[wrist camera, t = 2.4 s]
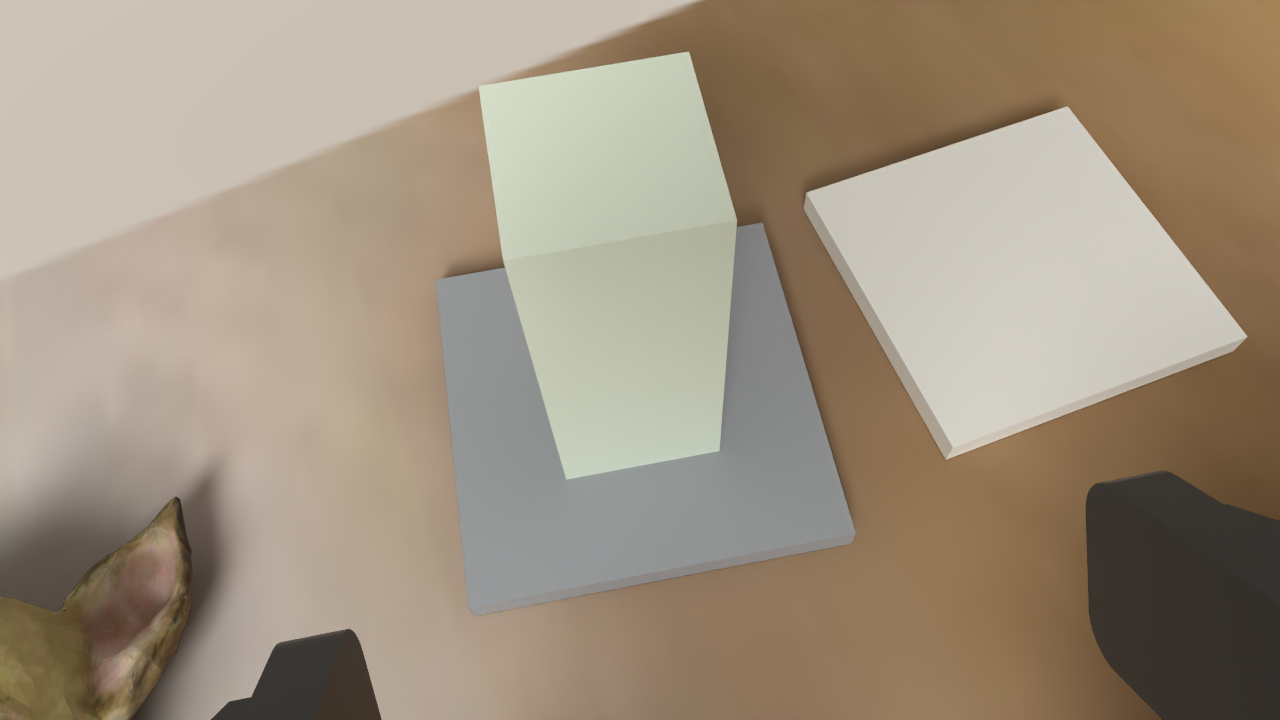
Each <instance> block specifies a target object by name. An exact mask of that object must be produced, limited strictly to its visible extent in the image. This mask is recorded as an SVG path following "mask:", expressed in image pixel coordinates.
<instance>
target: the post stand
mask: <svg viewBox="0 0 1280 720" xmlns="http://www.w3.org/2000/svg"><path fill="white" fill-rule="evenodd" d="M436 289H437V299H438V309H439V319H440V329H441V339H442V349H443V359H444V369H445V379H446V389H447V399H448V409H449V419H450V429H451V439H452V449H453V459H454V469H455V479H456V489H457V499H458V509H459V519H460V529H461V539H462V549H463V559H464V569H465V579H466V589H467V599H468V608H469V609H470V611H471V612H472V613H473V615H474V616H478V615H483V614H489V613H494V612H499V611H504V610H509V609H514V608H520V607H525V606H530V605H535V604H540V603H546V602H551V601H556V600H561V599H566V598H572V597H577V596H582V595H587V594H592V593H598V592H603V591H608V590H613V589H618V588H624V587H629V586H634V585H639V584H644V583H649V582H655V581H660V580H665V579H670V578H675V577H681V576H686V575H691V574H696V573H701V572H707V571H712V570H717V569H722V568H727V567H733V566H738V565H743V564H748V563H753V562H758V561H764V560H769V559H774V558H779V557H784V556H790V555H795V554H800V553H805V552H810V551H816V550H821V549H826V548H831V547H836V546H842V545H847V544H851V543H852V541H853V539H854V537H855V534H856V532H855V529H854V525H853V522H852V519H851V515H850V512H849V509H848V505H847V502H846V499H845V496H844V492H843V489H842V486H841V482H840V479H839V476H838V472H837V469H836V466H835V462H834V459H833V456H832V452H831V449H830V446H829V442H828V439H827V436H826V432H825V429H824V426H823V422H822V419H821V416H820V412H819V409H818V406H817V402H816V399H815V396H814V392H813V389H812V386H811V382H810V379H809V376H808V372H807V369H806V366H805V362H804V359H803V356H802V352H801V349H800V346H799V342H798V339H797V336H796V332H795V329H794V326H793V323H792V319H791V316H790V313H789V309H788V306H787V303H786V299H785V296H784V293H783V289H782V286H781V283H780V279H779V276H778V273H777V269H776V266H775V263H774V259H773V256H772V253H771V249H770V246H769V243H768V239H767V236H766V233H765V229H764V226H763V223H757V224H751V225H745V226H740V227H737V228H736V241H735V254H734V267H733V280H732V293H731V306H730V319H729V332H728V345H727V359H726V372H725V385H724V398H723V411H722V424H721V437H720V450H719V451H717V452H712V453H706V454H701V455H696V456H690V457H685V458H680V459H674V460H669V461H664V462H658V463H653V464H647V465H642V466H637V467H631V468H626V469H621V470H615V471H610V472H605V473H599V474H594V475H588V476H583V477H578V478H572V479H567V480H566V477H565V474H564V470H563V467H562V463H561V460H560V456H559V453H558V449H557V446H556V442H555V439H554V435H553V432H552V428H551V425H550V422H549V418H548V415H547V411H546V408H545V404H544V401H543V397H542V394H541V390H540V387H539V383H538V380H537V376H536V373H535V370H534V366H533V363H532V359H531V356H530V352H529V349H528V345H527V342H526V338H525V335H524V331H523V328H522V324H521V321H520V318H519V314H518V311H517V307H516V304H515V300H514V297H513V293H512V290H511V286H510V283H509V279H508V276H507V272H506V269H505V268H499V269H494V270H488V271H482V272H476V273H471V274H465V275H459V276H454V277H448V278H442V279H436Z"/></svg>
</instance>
